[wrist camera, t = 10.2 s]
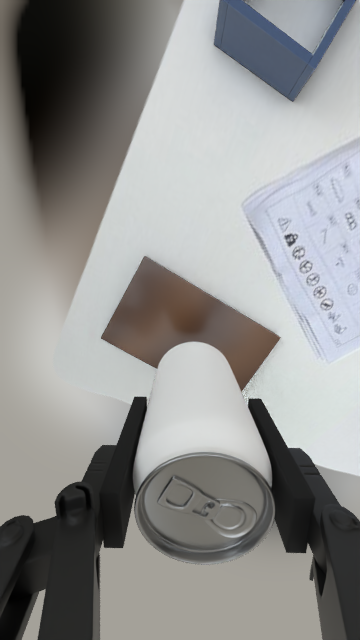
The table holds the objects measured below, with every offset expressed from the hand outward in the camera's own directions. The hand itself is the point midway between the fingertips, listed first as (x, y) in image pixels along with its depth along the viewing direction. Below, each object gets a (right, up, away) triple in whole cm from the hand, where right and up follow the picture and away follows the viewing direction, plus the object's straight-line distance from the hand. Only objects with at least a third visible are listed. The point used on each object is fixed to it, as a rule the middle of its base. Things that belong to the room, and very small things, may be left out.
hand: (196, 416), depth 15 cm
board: (0, +4, +17) cm, 17 cm away
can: (0, +1, +6) cm, 6 cm away
